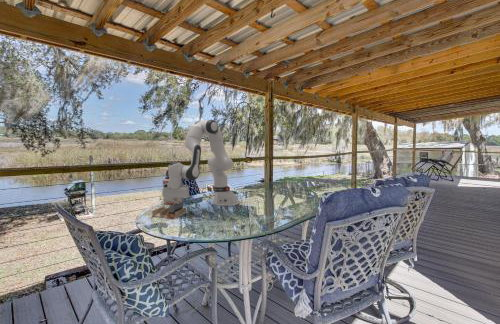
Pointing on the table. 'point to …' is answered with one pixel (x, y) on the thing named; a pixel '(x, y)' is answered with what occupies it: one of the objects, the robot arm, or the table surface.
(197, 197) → the table surface
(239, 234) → the table surface
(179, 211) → the rack
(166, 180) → the cracker box
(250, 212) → the table surface
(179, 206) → the blanking panel
